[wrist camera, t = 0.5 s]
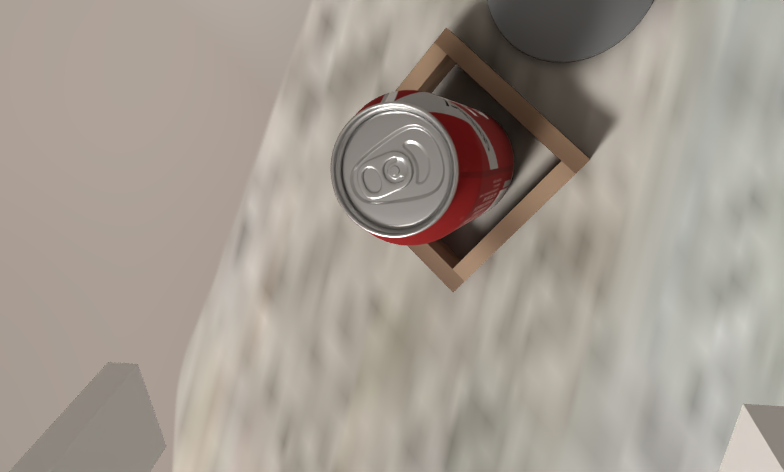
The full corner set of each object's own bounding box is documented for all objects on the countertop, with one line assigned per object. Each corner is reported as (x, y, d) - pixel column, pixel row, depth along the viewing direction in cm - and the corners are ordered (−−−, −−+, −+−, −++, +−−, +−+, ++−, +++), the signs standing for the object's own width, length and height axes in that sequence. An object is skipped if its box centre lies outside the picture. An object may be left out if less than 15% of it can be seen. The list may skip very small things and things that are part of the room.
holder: (457, 36, 31) (446, 27, 29) (590, 159, 30) (589, 159, 27) (349, 167, 35) (332, 169, 33) (462, 282, 33) (453, 292, 31)
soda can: (532, 196, 31) (498, 222, 20) (430, 232, 34) (350, 273, 23) (492, 88, 31) (436, 54, 20) (393, 133, 33) (294, 125, 22)
